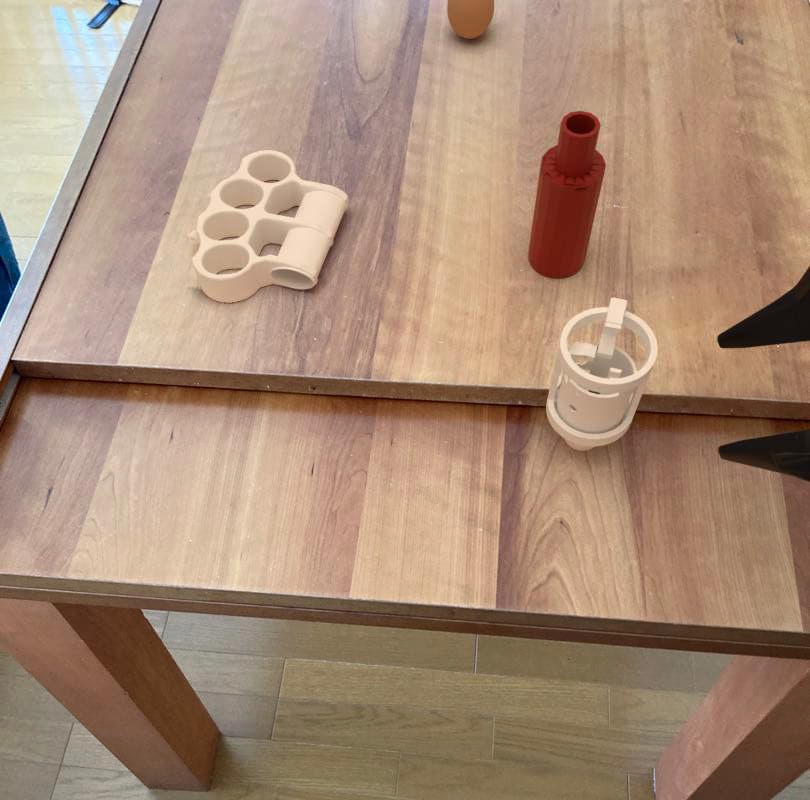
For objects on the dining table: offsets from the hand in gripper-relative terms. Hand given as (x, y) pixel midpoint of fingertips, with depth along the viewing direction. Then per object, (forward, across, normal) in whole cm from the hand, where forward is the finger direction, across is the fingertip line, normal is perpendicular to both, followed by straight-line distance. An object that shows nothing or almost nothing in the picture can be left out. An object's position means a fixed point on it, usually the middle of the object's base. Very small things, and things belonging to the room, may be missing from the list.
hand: (718, 395), depth 56 cm
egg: (+28, -60, +1) cm, 67 cm away
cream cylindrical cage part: (+14, -5, +10) cm, 18 cm away
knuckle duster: (+43, -25, -7) cm, 50 cm away
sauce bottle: (+17, -27, +8) cm, 33 cm away
